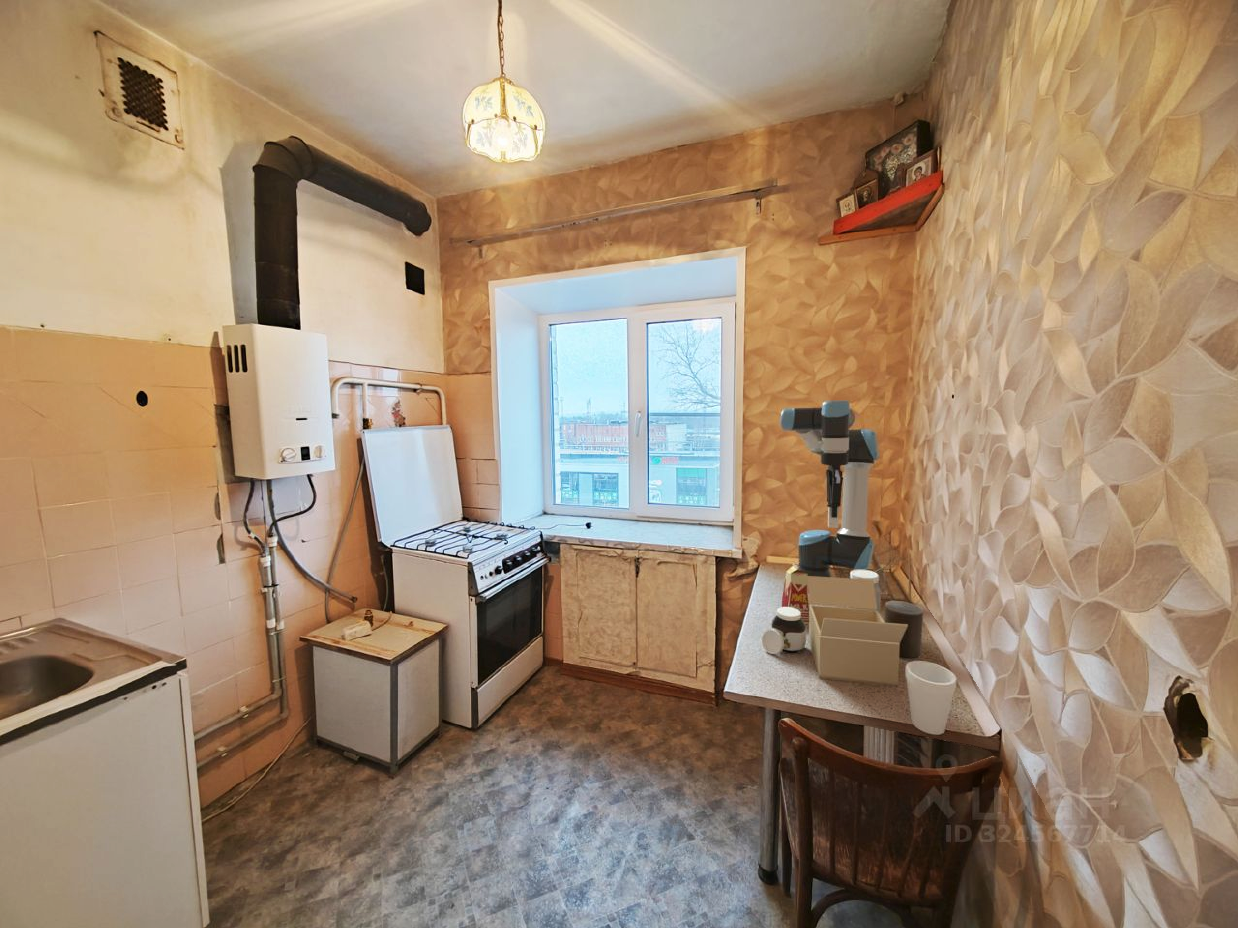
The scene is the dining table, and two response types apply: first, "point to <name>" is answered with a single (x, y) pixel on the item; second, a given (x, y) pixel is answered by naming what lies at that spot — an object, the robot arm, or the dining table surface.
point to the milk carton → (796, 592)
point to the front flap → (863, 630)
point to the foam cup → (929, 695)
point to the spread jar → (785, 632)
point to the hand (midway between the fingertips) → (832, 526)
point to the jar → (868, 576)
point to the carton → (852, 650)
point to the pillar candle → (913, 634)
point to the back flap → (841, 592)
